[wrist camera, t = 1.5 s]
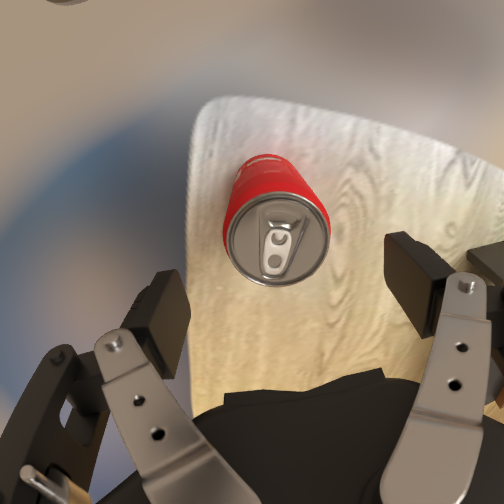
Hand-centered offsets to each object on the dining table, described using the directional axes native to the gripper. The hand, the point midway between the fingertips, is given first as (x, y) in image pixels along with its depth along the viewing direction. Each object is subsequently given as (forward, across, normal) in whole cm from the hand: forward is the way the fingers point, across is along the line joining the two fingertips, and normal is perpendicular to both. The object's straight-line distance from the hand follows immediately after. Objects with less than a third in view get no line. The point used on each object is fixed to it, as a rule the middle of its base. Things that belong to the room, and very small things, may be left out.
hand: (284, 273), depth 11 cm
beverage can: (+15, 0, 0) cm, 15 cm away
